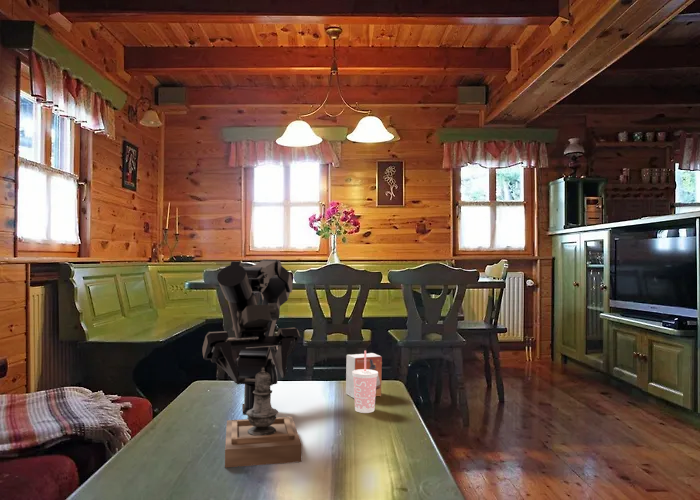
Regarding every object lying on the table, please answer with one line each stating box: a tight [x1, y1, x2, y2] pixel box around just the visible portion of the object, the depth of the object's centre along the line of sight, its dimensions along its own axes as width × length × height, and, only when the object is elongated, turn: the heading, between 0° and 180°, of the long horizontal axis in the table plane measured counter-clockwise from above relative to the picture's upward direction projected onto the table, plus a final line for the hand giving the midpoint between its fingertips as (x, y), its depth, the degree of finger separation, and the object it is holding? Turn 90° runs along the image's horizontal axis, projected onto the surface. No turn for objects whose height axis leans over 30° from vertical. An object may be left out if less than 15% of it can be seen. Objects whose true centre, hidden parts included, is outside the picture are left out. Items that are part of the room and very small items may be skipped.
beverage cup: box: [352, 350, 378, 414], centre depth 120 cm, size 6×6×14 cm
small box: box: [345, 352, 383, 400], centre depth 133 cm, size 8×6×10 cm
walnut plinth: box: [224, 416, 303, 469], centre depth 95 cm, size 16×13×4 cm
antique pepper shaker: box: [245, 367, 279, 436], centre depth 95 cm, size 6×6×12 cm
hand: (261, 379), depth 96 cm, fingers open, 9 cm apart
